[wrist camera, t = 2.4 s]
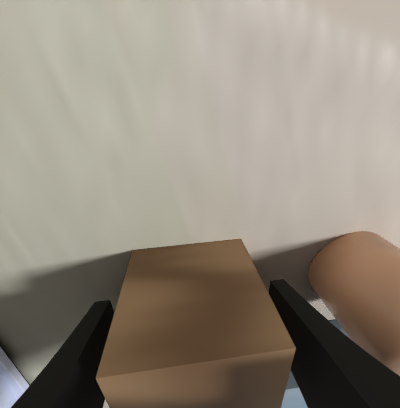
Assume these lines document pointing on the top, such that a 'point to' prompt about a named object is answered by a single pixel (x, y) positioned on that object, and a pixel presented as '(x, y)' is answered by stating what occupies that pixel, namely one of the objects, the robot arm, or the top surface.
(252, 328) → the walnut block
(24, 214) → the top surface
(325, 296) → the peach rounded part
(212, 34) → the top surface
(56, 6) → the top surface
